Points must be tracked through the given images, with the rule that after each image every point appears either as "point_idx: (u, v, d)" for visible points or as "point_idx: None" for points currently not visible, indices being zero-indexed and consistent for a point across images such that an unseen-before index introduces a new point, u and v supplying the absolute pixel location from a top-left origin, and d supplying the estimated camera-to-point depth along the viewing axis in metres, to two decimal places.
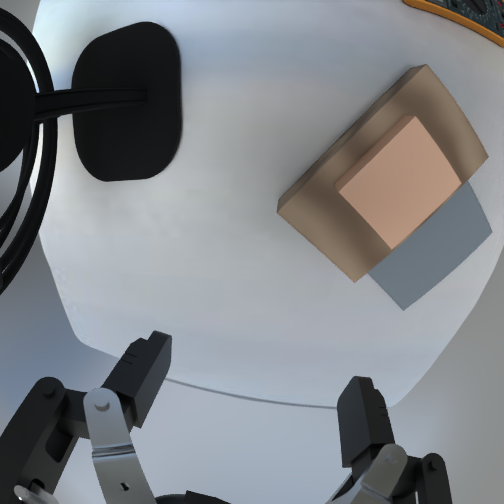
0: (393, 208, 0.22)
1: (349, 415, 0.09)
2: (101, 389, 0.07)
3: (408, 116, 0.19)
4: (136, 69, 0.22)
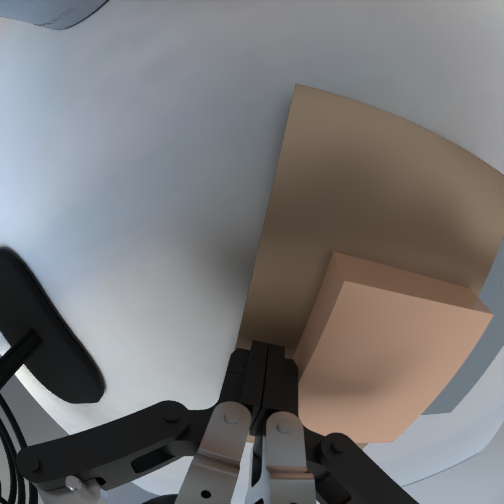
0: (370, 419, 0.11)
1: None
2: (227, 404, 0.08)
3: (336, 267, 0.10)
4: (15, 309, 0.19)
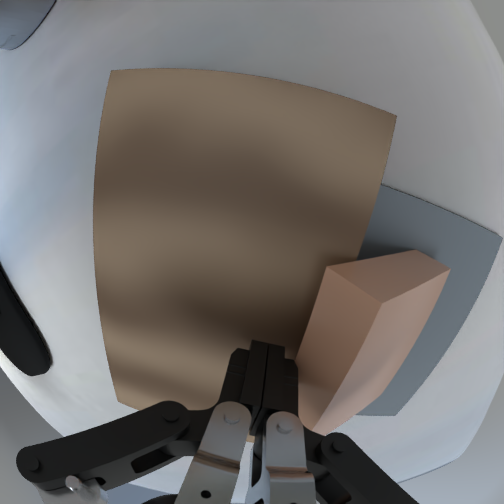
0: (371, 390, 0.13)
1: None
2: (227, 404, 0.08)
3: (349, 286, 0.08)
4: None
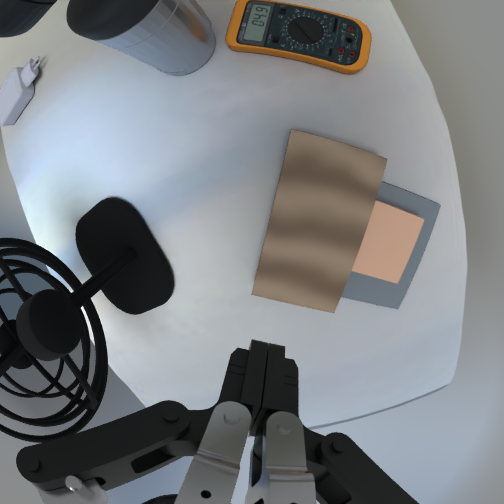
0: (386, 261, 0.34)
1: None
2: (227, 404, 0.08)
3: None
4: (118, 236, 0.39)
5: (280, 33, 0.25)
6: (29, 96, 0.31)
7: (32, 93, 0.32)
